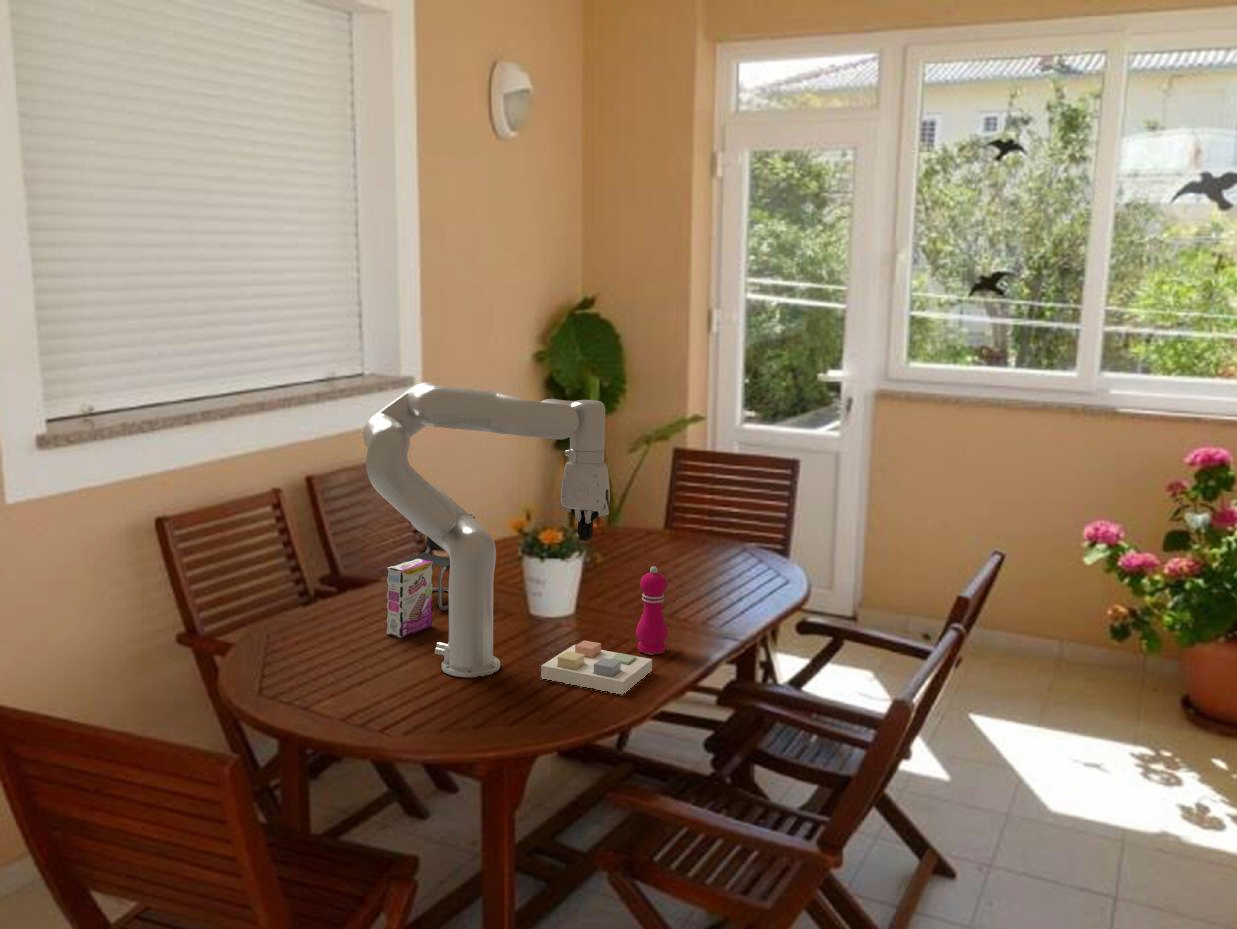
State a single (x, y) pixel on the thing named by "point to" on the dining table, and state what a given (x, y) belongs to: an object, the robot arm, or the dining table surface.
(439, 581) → the chair
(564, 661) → the ochre button
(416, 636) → the dining table surface
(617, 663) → the slate button
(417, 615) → the candy bar box
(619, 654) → the sage button
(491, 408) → the robot arm
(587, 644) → the terracotta button
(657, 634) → the pepper mill
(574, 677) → the console
